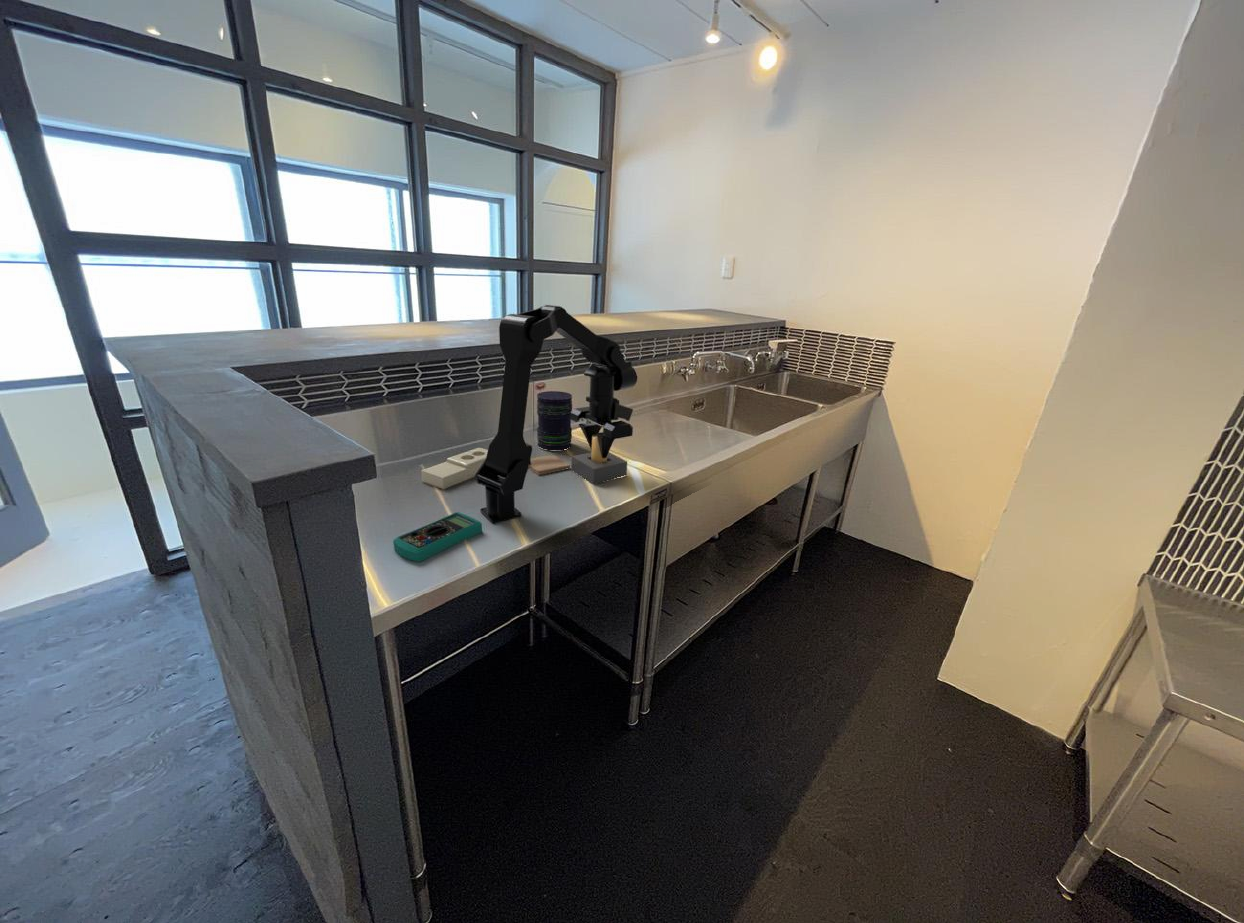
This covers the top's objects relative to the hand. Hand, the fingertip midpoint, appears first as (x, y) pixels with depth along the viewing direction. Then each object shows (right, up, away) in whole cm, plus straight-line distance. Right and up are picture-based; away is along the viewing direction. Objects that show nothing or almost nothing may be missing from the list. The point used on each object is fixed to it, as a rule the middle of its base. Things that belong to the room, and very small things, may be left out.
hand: (599, 455), depth 125 cm
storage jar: (-14, +3, +20) cm, 25 cm away
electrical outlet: (-33, -5, -2) cm, 34 cm away
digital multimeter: (-28, -17, -32) cm, 46 cm away
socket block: (0, -5, +2) cm, 5 cm away
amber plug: (0, -5, +2) cm, 5 cm away
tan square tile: (-14, -3, +5) cm, 15 cm away
